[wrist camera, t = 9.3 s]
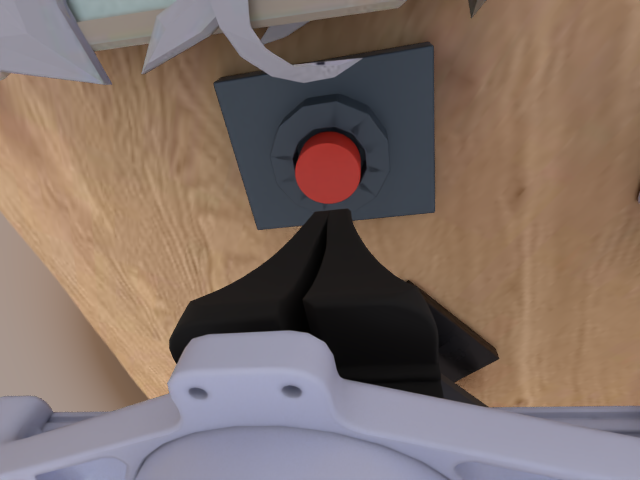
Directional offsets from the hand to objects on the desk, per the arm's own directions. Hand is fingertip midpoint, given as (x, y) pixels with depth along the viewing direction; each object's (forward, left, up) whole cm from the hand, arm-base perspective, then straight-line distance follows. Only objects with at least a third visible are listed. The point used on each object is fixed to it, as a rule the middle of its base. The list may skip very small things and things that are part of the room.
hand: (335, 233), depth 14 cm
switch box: (+1, 0, -10) cm, 10 cm away
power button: (+1, 0, -7) cm, 7 cm away
